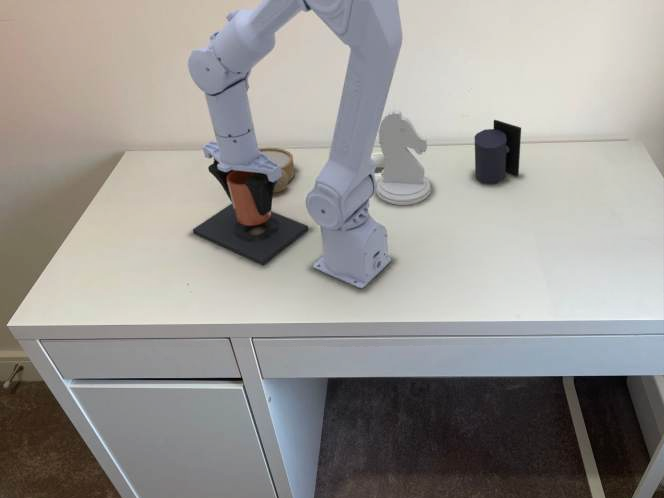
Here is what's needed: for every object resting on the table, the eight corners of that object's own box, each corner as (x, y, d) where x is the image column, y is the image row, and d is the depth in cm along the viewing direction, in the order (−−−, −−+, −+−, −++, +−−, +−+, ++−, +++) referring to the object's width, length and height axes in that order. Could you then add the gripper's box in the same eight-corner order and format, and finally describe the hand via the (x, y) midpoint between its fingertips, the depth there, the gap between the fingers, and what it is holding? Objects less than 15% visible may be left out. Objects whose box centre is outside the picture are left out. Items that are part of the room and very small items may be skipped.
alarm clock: (296, 146, 112) (285, 173, 99) (299, 170, 114) (289, 200, 101) (239, 148, 112) (220, 175, 99) (243, 172, 114) (225, 202, 102)
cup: (278, 212, 94) (270, 172, 89) (254, 229, 91) (245, 189, 86) (253, 202, 97) (244, 163, 92) (229, 219, 93) (218, 179, 88)
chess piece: (427, 206, 100) (429, 126, 90) (372, 203, 101) (367, 124, 91) (433, 177, 107) (434, 100, 97) (381, 174, 108) (377, 98, 98)
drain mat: (308, 229, 96) (307, 225, 95) (263, 265, 89) (262, 261, 89) (240, 202, 103) (239, 198, 102) (193, 233, 96) (192, 229, 96)
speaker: (499, 161, 110) (502, 113, 102) (519, 176, 106) (523, 127, 99) (467, 176, 108) (467, 128, 100) (485, 191, 104) (488, 142, 97)
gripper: (179, 127, 84) (201, 205, 93) (250, 152, 78) (267, 233, 87) (214, 109, 88) (233, 185, 98) (285, 131, 82) (297, 210, 91)
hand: (251, 206), depth 93 cm, fingers closed on cup, 5 cm apart
